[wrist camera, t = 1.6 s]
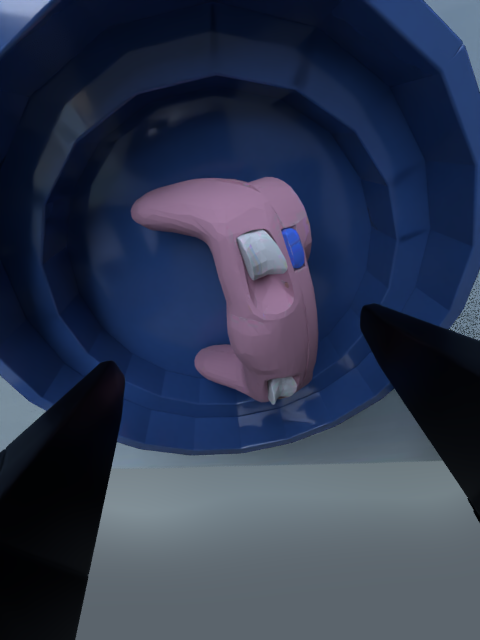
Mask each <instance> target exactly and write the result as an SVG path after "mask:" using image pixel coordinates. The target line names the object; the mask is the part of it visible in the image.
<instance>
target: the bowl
mask: <svg viewBox="0 0 480 640" xmlns="http://www.w3.org/2000/svg"><path fill="white" fill-rule="evenodd" d="M462 44H463V42H462V40H461V39H460V38H459V37H458V36H457V35H456V34H455V33H454V32H453V31H452V30H451V29H450V28H449V27H448V26H447V25H446V23H445V22H444V21H443V20H442V19H441V18H440V17H439V16H438V15H437V14H436V13H435V12H434V11H433V10H432V9H431V8H430V7H429V6H428V5H427V4H426V2H425V1H424V0H0V376H1V377H3V378H4V379H5V380H6V381H7V382H8V383H9V384H10V385H11V386H13V387H14V388H15V389H16V390H17V391H18V392H19V393H20V394H22V395H23V396H24V397H25V398H26V399H27V400H28V401H29V402H32V403H33V404H35V405H37V406H38V407H40V408H42V409H44V410H46V411H47V410H48V409H49V408H51V407H52V406H53V405H54V404H55V403H56V402H57V401H58V400H59V399H61V398H62V397H63V396H64V395H65V394H66V393H67V392H68V391H69V390H71V389H72V388H73V387H74V386H75V385H76V384H77V383H78V382H79V381H81V380H82V379H83V378H84V377H85V376H86V375H87V374H88V373H89V372H91V371H92V370H93V369H94V368H95V367H96V366H97V365H98V364H100V363H101V362H105V361H109V360H113V361H114V362H115V363H116V364H117V366H118V367H119V368H120V370H121V371H122V373H123V374H124V377H125V389H124V399H123V409H122V418H121V424H120V429H119V434H118V438H117V442H119V443H122V444H125V445H128V446H131V447H135V448H138V449H143V450H151V451H159V452H167V453H175V454H183V455H215V454H239V453H246V452H251V451H256V450H261V449H266V448H271V447H276V446H281V445H286V444H289V443H293V442H296V441H298V440H301V439H304V438H306V437H309V436H312V435H314V434H317V433H319V432H322V431H325V430H327V429H330V428H333V427H335V426H336V425H339V424H341V423H342V422H344V421H346V420H347V419H349V418H351V417H352V416H354V415H356V414H358V413H359V412H361V411H363V410H364V409H366V408H368V407H369V406H371V405H373V404H374V403H376V402H378V401H380V400H381V399H383V398H384V397H385V396H386V395H387V394H388V393H389V392H391V391H392V390H393V389H394V387H393V386H392V384H391V383H390V381H389V380H388V378H387V377H386V375H385V374H384V372H383V371H382V369H381V368H380V366H379V364H378V362H377V361H376V359H375V357H374V355H373V353H372V351H371V349H370V347H369V345H368V343H367V341H366V339H365V337H364V335H363V333H362V332H361V329H360V316H361V309H362V307H363V306H364V305H368V304H372V303H376V304H379V305H382V306H384V307H387V308H390V309H393V310H395V311H398V312H401V313H404V314H406V315H409V316H412V317H415V318H418V319H420V320H423V321H426V322H429V323H431V324H434V325H437V326H440V327H442V328H445V329H448V330H449V328H450V327H451V326H452V324H453V323H454V322H455V320H456V319H457V318H458V316H459V315H460V314H461V312H462V311H463V309H464V307H465V304H466V302H467V299H468V297H469V294H470V292H471V289H472V287H473V285H474V282H475V280H476V277H477V275H478V272H479V270H480V91H479V88H478V85H477V82H476V79H475V76H474V72H473V69H472V66H471V63H470V60H469V57H468V53H467V50H466V47H465V46H464V45H462ZM264 177H274V178H278V179H280V180H282V181H284V182H285V183H287V184H288V185H289V186H290V187H291V188H292V189H293V190H294V192H295V193H296V194H297V196H298V197H299V199H300V201H301V202H302V204H303V206H304V208H305V211H306V214H307V217H308V220H309V224H310V230H311V239H312V243H311V252H310V256H309V259H308V261H307V263H308V267H309V271H310V275H311V279H312V283H313V287H314V294H315V301H316V309H317V320H318V349H317V357H316V363H315V366H314V369H313V377H312V380H311V381H310V383H308V384H307V385H306V386H304V387H303V388H301V389H300V390H298V391H297V392H296V393H294V394H293V395H292V396H290V397H286V398H281V399H277V400H276V402H275V404H274V405H273V404H272V403H271V402H270V401H268V402H259V401H257V400H255V399H253V398H251V397H249V396H248V395H246V394H244V393H242V392H240V391H238V390H236V389H233V388H230V387H227V386H224V385H221V384H218V383H215V382H213V381H210V380H208V379H207V378H205V377H204V376H202V375H201V374H200V373H199V372H198V371H197V369H196V367H195V362H194V360H195V357H196V355H197V354H198V352H199V351H200V350H201V349H204V348H206V347H209V346H213V345H223V344H228V345H231V344H230V340H229V336H228V330H227V305H226V299H225V296H224V293H223V290H222V287H221V283H220V280H219V277H218V273H217V270H216V266H215V262H214V258H213V255H212V252H211V250H210V248H209V246H208V245H207V243H205V242H204V241H203V240H200V239H198V238H196V237H192V236H188V235H183V234H179V233H173V232H165V231H156V230H150V229H148V228H146V227H144V226H142V225H140V224H138V223H136V222H135V221H134V220H133V219H132V216H131V208H132V206H133V204H134V202H135V201H136V200H137V199H139V198H140V197H142V196H143V195H145V194H146V193H147V192H150V191H152V190H154V189H157V188H160V187H163V186H167V185H171V184H175V183H178V182H182V181H187V180H192V179H198V178H223V179H236V180H240V181H244V182H251V181H254V180H258V179H261V178H264Z"/></svg>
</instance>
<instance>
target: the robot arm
mask: <svg viewBox="0 0 480 640" xmlns="http://www.w3.org/2000/svg"><path fill="white" fill-rule="evenodd" d="M360 329H361V332H362V333H363V335H364V337H365V339H366V341H367V343H368V345H369V347H370V349H371V351H372V353H373V355H374V357H375V359H376V361H377V362H378V364H379V366H380V368H381V369H382V371H383V372H384V374H385V375H386V377H387V378H388V380H389V381H390V383H391V384H392V386H393V387H394V389H395V390H396V392H397V393H398V395H399V396H400V398H401V399H402V401H403V402H404V404H405V405H406V406H407V408H408V409H409V411H410V412H411V414H412V415H413V417H414V418H415V420H416V421H417V423H418V424H419V426H420V427H421V429H422V430H423V432H424V433H425V435H426V436H427V438H428V439H429V441H430V442H431V444H432V445H433V447H434V448H435V450H436V451H437V453H438V454H439V456H440V457H441V458H442V460H443V461H444V463H445V464H446V466H447V467H448V469H449V470H450V472H451V473H452V475H453V476H454V478H455V479H456V481H457V482H458V483H459V485H460V487H461V488H462V490H463V491H464V493H465V494H466V496H467V497H468V501H469V503H470V505H471V506H472V508H473V509H474V514H475V515H476V517H477V519H478V521H479V522H480V341H478V340H476V339H473V338H470V337H467V336H465V335H462V334H459V333H456V332H454V331H451V330H448V329H445V328H442V327H440V326H437V325H434V324H431V323H429V322H426V321H423V320H420V319H418V318H415V317H412V316H409V315H406V314H404V313H401V312H398V311H395V310H393V309H390V308H387V307H384V306H382V305H379V304H376V303H372V304H368V305H364V306H363V307H362V309H361V316H360ZM124 389H125V377H124V374H123V373H122V371H121V370H120V368H119V367H118V366H117V364H116V363H115V362H114V361H113V360H109V361H105V362H101V363H100V364H98V365H97V366H96V367H95V368H94V369H93V370H92V371H91V372H89V373H88V374H87V375H86V376H85V377H84V378H83V379H82V380H81V381H79V382H78V383H77V384H76V385H75V386H74V387H73V388H72V389H71V390H69V391H68V392H67V393H66V394H65V395H64V396H63V397H62V398H61V399H59V400H58V401H57V402H56V403H55V404H54V405H53V406H52V407H51V408H49V409H48V410H47V411H46V412H45V413H44V414H43V415H42V416H41V417H39V418H38V419H37V420H36V421H35V422H34V423H33V424H32V425H31V426H29V427H28V428H27V429H26V430H25V431H24V432H23V433H22V434H20V435H19V436H18V437H17V438H16V439H15V440H14V441H13V442H12V443H10V444H9V445H8V446H7V447H6V449H4V450H3V451H1V452H0V640H75V638H76V633H77V628H78V624H79V619H80V614H81V609H82V604H83V600H84V595H85V591H86V586H87V581H88V574H89V570H90V566H91V561H92V556H93V552H94V547H95V542H96V537H97V533H98V528H99V523H100V519H101V514H102V509H103V504H104V500H105V495H106V490H107V486H108V481H109V476H110V471H111V467H112V462H113V457H114V453H115V448H116V443H117V438H118V434H119V429H120V424H121V418H122V409H123V399H124Z"/></svg>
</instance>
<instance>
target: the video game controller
mask: <svg viewBox="0 0 480 640" xmlns="http://www.w3.org/2000/svg"><path fill="white" fill-rule="evenodd" d="M131 216H132V219H133V220H134V221H135V222H136V223H138V224H140V225H142V226H144V227H146V228H148V229H150V230H156V231H165V232H173V233H179V234H183V235H188V236H192V237H196V238H198V239H200V240H203V241H204V242H205V243H207V245H208V246H209V248H210V250H211V252H212V255H213V258H214V262H215V266H216V270H217V273H218V277H219V280H220V283H221V287H222V290H223V293H224V296H225V299H226V305H227V330H228V336H229V340H230V344H231V345H228V344H223V345H213V346H209V347H206V348H204V349H201V350H200V351H199V352H198V354H197V355H196V357H195V360H194V362H195V367H196V369H197V371H198V372H199V373H200V374H201V375H202V376H204V377H205V378H207V379H208V380H210V381H213V382H215V383H218V384H221V385H224V386H227V387H230V388H233V389H236V390H238V391H240V392H242V393H244V394H246V395H248V396H249V397H251V398H253V399H255V400H257V401H259V402H268V401H270V402H271V403H272V404H273V405H274V404H275V402H276V400H277V399H281V398H286V397H290V396H292V395H293V394H294V393H296V392H297V391H298V390H300V389H301V388H303V387H304V386H306V385H307V384H308V383H310V381H311V380H312V377H313V369H314V366H315V363H316V357H317V349H318V320H317V309H316V301H315V294H314V287H313V283H312V279H311V275H310V271H309V267H308V263H307V261H308V259H309V256H310V252H311V243H312V239H311V230H310V224H309V220H308V217H307V214H306V211H305V208H304V206H303V204H302V202H301V201H300V199H299V197H298V196H297V194H296V193H295V192H294V190H293V189H292V188H291V187H290V186H289V185H288V184H287V183H285V182H284V181H282V180H280V179H278V178H274V177H264V178H261V179H258V180H254V181H251V182H244V181H240V180H236V179H223V178H198V179H192V180H187V181H182V182H178V183H175V184H171V185H167V186H163V187H160V188H157V189H154V190H152V191H150V192H147V193H146V194H145V195H143V196H142V197H140V198H139V199H137V200H136V201H135V202H134V204H133V206H132V208H131Z"/></svg>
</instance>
